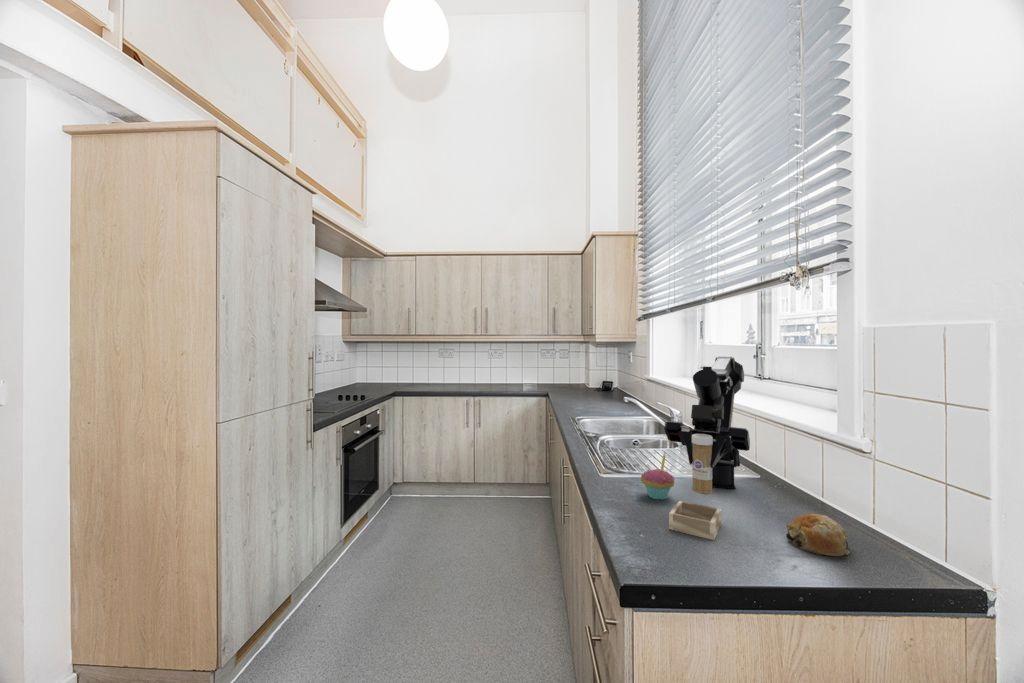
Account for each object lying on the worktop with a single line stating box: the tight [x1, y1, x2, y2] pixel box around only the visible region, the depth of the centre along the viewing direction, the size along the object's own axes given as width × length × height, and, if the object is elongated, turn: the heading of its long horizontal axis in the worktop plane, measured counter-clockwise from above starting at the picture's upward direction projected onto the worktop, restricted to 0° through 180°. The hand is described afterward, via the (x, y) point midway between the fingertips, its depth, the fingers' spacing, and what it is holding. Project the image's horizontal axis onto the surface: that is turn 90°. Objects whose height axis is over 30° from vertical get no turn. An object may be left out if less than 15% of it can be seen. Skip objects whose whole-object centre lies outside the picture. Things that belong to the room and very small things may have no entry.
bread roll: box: [785, 513, 851, 557], centre depth 86 cm, size 10×10×8 cm
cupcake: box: [640, 451, 675, 500], centre depth 113 cm, size 9×8×12 cm
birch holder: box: [668, 500, 723, 541], centre depth 95 cm, size 9×9×4 cm
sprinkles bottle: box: [691, 434, 714, 495], centre depth 101 cm, size 5×5×14 cm
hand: (700, 465), depth 100 cm, fingers closed on sprinkles bottle, 4 cm apart
